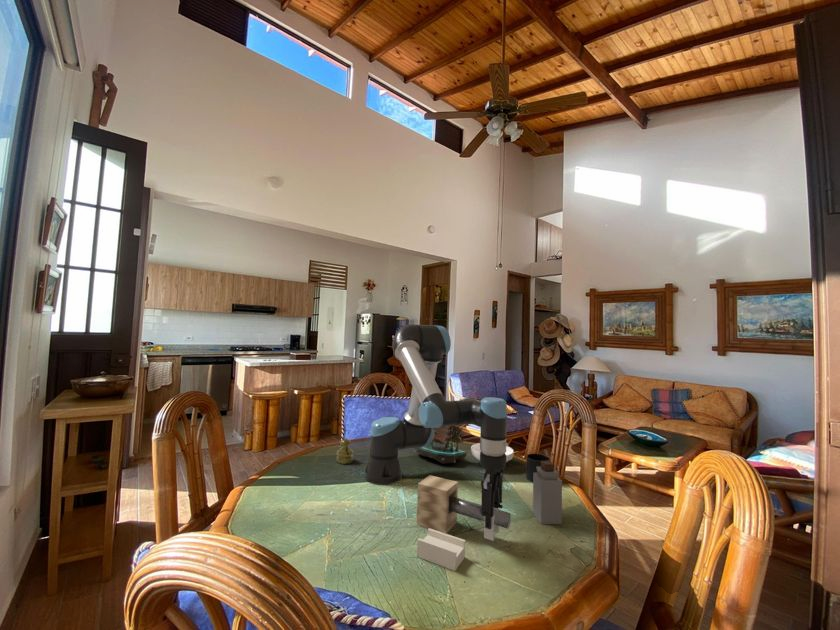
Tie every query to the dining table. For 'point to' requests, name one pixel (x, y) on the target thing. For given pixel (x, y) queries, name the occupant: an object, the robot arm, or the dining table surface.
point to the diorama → (444, 447)
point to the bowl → (476, 451)
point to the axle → (478, 511)
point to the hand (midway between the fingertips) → (491, 534)
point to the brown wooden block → (436, 503)
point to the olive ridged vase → (345, 452)
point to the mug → (534, 464)
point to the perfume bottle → (547, 494)
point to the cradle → (441, 549)
